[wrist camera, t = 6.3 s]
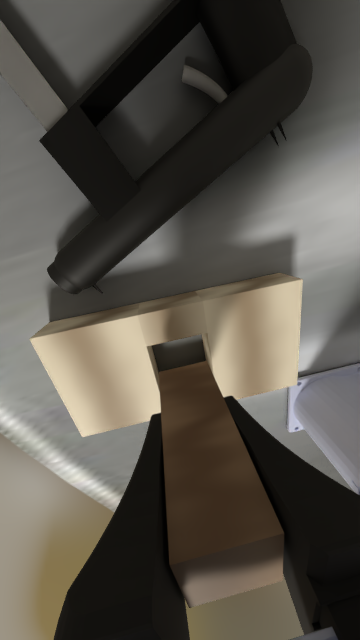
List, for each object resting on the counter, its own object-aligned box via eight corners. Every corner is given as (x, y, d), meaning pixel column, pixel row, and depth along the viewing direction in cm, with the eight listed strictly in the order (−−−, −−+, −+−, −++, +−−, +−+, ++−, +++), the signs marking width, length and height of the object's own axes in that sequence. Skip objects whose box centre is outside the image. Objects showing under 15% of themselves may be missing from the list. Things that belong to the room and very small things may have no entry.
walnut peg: (206, 360, 14) (284, 533, 6) (212, 397, 16) (282, 580, 7) (158, 372, 14) (169, 565, 6) (168, 408, 15) (188, 608, 7)
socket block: (279, 272, 18) (302, 279, 15) (278, 366, 22) (297, 384, 19) (49, 322, 17) (29, 339, 14) (91, 410, 21) (82, 437, 18)
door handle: (-191, 48, 9) (83, 313, 14) (153, -448, 6) (341, 95, 12) (-102, 99, 12) (97, 301, 17) (155, -223, 10) (302, 127, 15)
